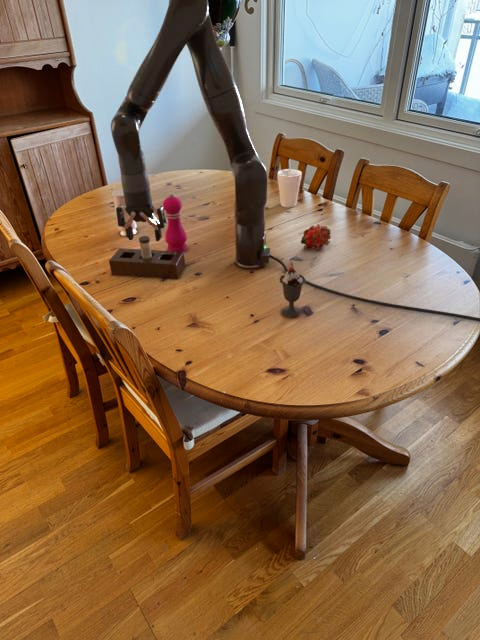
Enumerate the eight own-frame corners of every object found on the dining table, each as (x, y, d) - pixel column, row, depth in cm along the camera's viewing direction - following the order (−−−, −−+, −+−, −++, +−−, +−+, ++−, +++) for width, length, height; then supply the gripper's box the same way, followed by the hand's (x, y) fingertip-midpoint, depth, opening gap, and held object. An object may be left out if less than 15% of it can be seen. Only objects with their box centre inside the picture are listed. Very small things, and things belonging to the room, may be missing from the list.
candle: (139, 234, 169) (133, 194, 160) (120, 237, 167) (113, 197, 158) (136, 227, 174) (129, 188, 166) (117, 230, 172) (110, 191, 164)
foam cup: (273, 202, 192) (274, 170, 185) (294, 199, 194) (295, 168, 187) (282, 210, 185) (283, 177, 177) (303, 207, 187) (305, 174, 180)
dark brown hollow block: (185, 265, 148) (183, 251, 145) (177, 279, 141) (176, 264, 138) (122, 262, 151) (119, 248, 148) (111, 275, 144) (108, 260, 141)
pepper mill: (184, 255, 154) (178, 197, 143) (163, 254, 155) (156, 195, 144) (190, 246, 160) (185, 189, 148) (170, 244, 161) (163, 188, 150)
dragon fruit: (331, 248, 159) (303, 261, 156) (318, 228, 161) (290, 240, 158) (340, 235, 151) (311, 249, 148) (327, 214, 153) (297, 227, 150)
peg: (155, 268, 147) (150, 236, 141) (152, 273, 145) (147, 240, 138) (145, 267, 148) (140, 235, 141) (142, 272, 145) (137, 240, 139)
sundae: (287, 302, 129) (289, 254, 120) (308, 310, 125) (311, 261, 116) (273, 313, 124) (274, 263, 116) (294, 322, 121) (297, 271, 112)
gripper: (107, 191, 129) (117, 244, 138) (156, 192, 127) (163, 246, 136) (117, 182, 135) (127, 233, 144) (164, 183, 133) (171, 235, 142)
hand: (144, 239), depth 140 cm, fingers open, 8 cm apart
